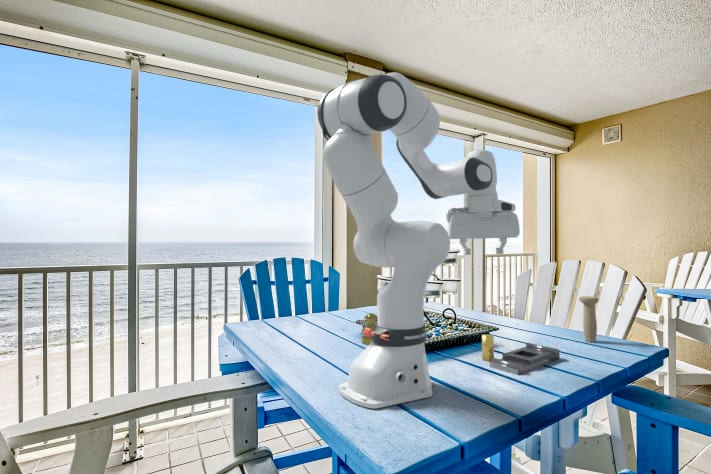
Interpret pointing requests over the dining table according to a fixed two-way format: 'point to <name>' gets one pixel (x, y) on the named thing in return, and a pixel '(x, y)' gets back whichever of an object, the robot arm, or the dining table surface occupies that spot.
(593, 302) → the handle
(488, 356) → the brass pin
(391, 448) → the dining table surface
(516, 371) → the gray stepped fixture plate
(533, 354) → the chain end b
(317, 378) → the dining table surface
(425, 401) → the dining table surface
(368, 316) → the olive green upright figure
